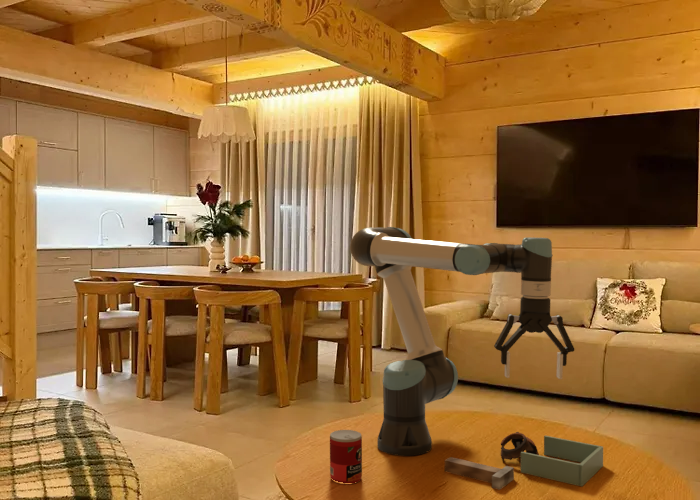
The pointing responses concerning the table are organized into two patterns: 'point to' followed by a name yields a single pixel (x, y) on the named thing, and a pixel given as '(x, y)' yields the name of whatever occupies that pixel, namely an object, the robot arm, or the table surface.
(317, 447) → the table surface
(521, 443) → the pottery mug
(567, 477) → the green u-shaped frame
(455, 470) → the hammer
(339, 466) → the canned food
